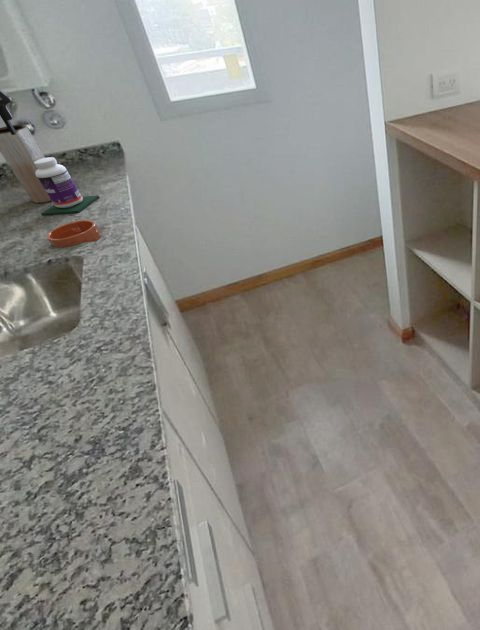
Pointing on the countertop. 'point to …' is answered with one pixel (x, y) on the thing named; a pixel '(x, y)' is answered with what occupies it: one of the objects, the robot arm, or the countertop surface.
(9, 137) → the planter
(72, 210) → the mat
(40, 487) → the countertop surface
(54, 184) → the pill bottle
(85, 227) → the bowl
